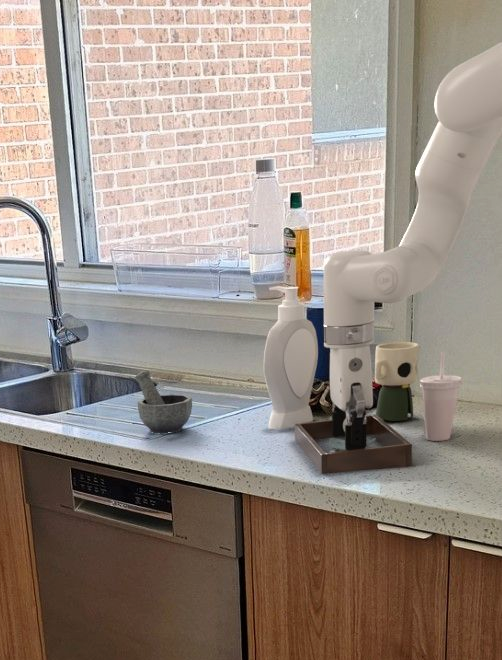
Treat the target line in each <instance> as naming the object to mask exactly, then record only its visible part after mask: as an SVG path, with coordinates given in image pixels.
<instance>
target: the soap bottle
mask: <svg viewBox="0 0 502 660" xmlns="http://www.w3.org/2000/svg"><path fill="white" fill-rule="evenodd" d="M268 289H269V291H279V292H280V293H283V294H284V299H282V300H281V304H278V305H277V321H276V322H275V324H273V325H272V327H271V328H270V329H269V331H268V334H267V337H266V340H265V345H264V346H265V347H264V352H263V376H264V381H265V385H266V388H267V389H266V390H267V393H268V395H269V398H270V403H271V406H272V410H271V413H270V417H269V422H268V427H267V428H268V429H269V430H285V429H290V428H295V424H298V423H307V422H314V416H313V413H312V409H311V406H310V405H309V404H310V399H311V395H312V391H313V385H314V380H315V376H316V371H317V366H318V359H319V344H318V336H317V330H316V328H315V326H314V324H313V322H312V321H311V320H309V319H307V318H305V303H303V302H301V298H298V289H299V286H282V285H281V286H280V285H275V286H270V287H269V288H268Z"/></svg>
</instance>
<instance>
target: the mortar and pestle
mask: <svg viewBox="0 0 502 660" xmlns="http://www.w3.org/2000/svg"><path fill="white" fill-rule="evenodd" d="M150 374H151V373H150V371H149V370H143V371H140V372H139V373H137V374H136V375H135V377H134V380H135V381H136V382H137V383H138V385H139V387H140V391H141V393H142V396H143V398H141V399H140V400H139V401H137V411H138V415H139V418H140V420H141V422H142V424H143V425H144V426H145V427H146V428H148V430H149V432H150V433H151V432H153V433H168V432H176V433H179V432H181V431H182V430H183V427H184V426H185V425H186V423H188V421H189V418H190V417H191V415H192V410H193V398H192V397H191V396H190V395H188V394H177V393H176V394H175V393H172V394H171V393H169V394H160V393H159V391H158V389H157V387H156V385H155V384H154V382H153V380H152V378H151V375H150ZM180 430H181V431H180ZM178 431H179V432H178Z"/></svg>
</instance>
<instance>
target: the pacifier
mask: <svg viewBox="0 0 502 660" xmlns="http://www.w3.org/2000/svg"><path fill="white" fill-rule="evenodd" d="M351 417H352V415H351ZM345 425H347V419H345V420H344V422H343V429H344V431H345ZM376 440H377V439H376V438H372V439H369V440H366V448H367V447H369V446H371V445H372V444H374V443H375V442H376ZM328 442H329V445H331V446H332V447H333V448H335V449H331V450H329V451H328V453H330V452H339V451H348V450H346V449H345V440H342V439H340V438H330V439H328Z"/></svg>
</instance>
